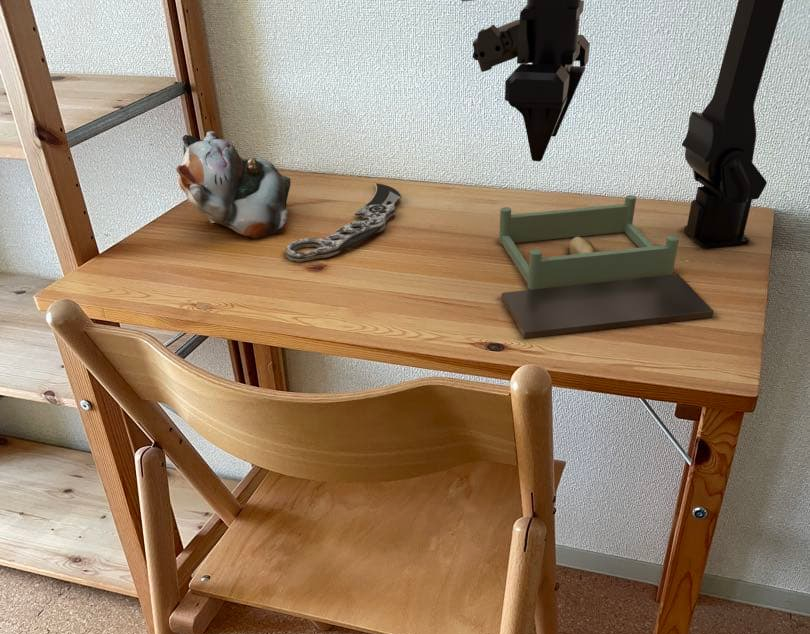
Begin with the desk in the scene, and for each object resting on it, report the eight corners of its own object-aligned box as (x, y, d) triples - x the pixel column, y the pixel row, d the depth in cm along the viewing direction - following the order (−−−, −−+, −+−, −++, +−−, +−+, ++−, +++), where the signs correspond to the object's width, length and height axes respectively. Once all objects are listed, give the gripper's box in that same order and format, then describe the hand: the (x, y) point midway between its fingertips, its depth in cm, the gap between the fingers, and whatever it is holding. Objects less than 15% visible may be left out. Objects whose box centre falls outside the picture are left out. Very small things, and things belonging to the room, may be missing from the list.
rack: (629, 228, 116) (634, 194, 113) (674, 275, 104) (681, 239, 101) (497, 241, 114) (499, 207, 111) (529, 290, 102) (531, 254, 99)
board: (676, 280, 103) (678, 273, 103) (712, 317, 96) (714, 310, 95) (501, 298, 101) (501, 292, 101) (524, 338, 94) (524, 332, 93)
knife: (374, 179, 130) (433, 183, 126) (376, 189, 131) (433, 194, 127) (269, 250, 112) (333, 258, 108) (271, 261, 113) (335, 270, 109)
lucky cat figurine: (282, 242, 115) (218, 157, 105) (214, 269, 121) (147, 190, 111) (302, 173, 123) (244, 88, 113) (237, 201, 129) (176, 122, 119)
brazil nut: (591, 268, 106) (596, 243, 104) (554, 262, 108) (559, 237, 106) (606, 262, 111) (611, 238, 109) (571, 255, 113) (575, 232, 111)
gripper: (500, -23, 99) (496, 121, 109) (458, 10, 86) (458, 170, 96) (596, -22, 96) (582, 125, 106) (568, 12, 83) (556, 176, 93)
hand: (544, 148), depth 101 cm, fingers open, 9 cm apart
